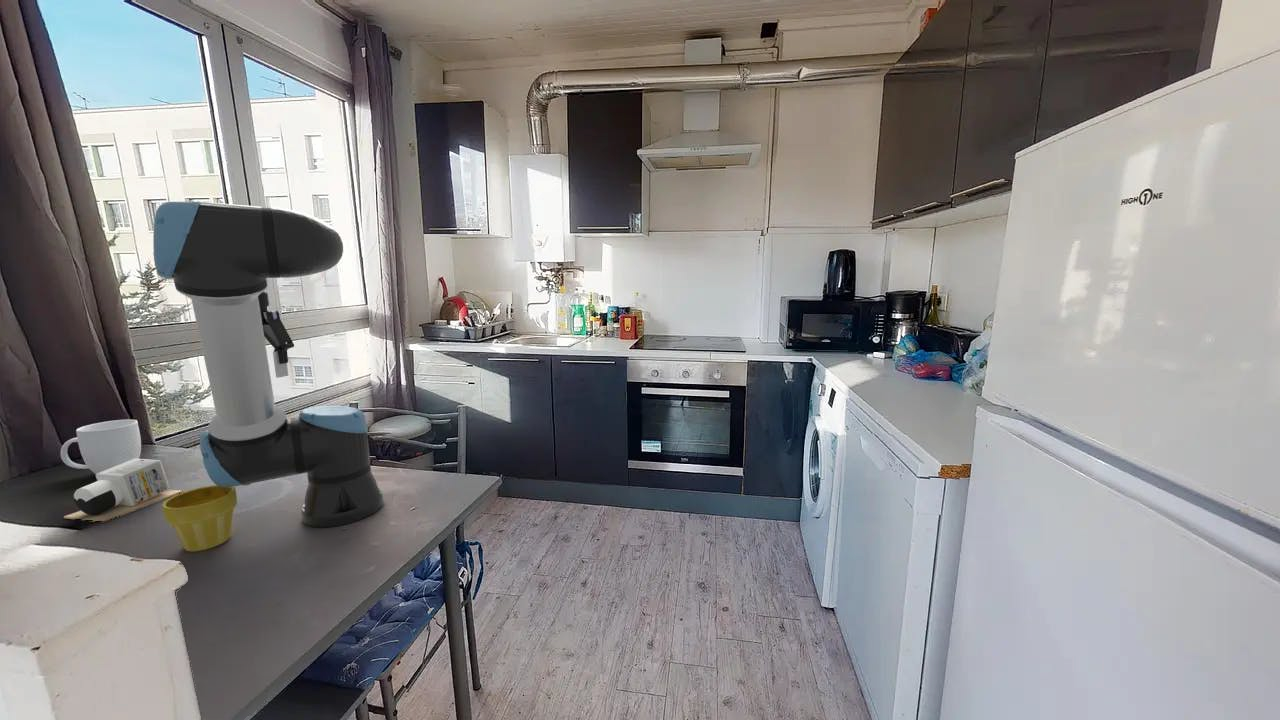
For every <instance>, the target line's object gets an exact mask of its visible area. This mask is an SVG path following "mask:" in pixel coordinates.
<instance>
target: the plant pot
mask: <svg viewBox="0 0 1280 720" xmlns="http://www.w3.org/2000/svg"><path fill="white" fill-rule="evenodd" d="M237 505H238V496H237V491H236V486H234V487H220V486H217V485H216V484H213V485H207V486H206V485H205V486H202V487H197V488H194V489H190V490H186V491H183V492H182V493H180V494H177V495H174V496H172V497H169V498H167V499H165V501H163V503H162V504H161V508H162V509H161V510H162V514H163V518H164V522H165V523H167V524H168V525H171V527H172V528H173V529H174V532H175V533H176V535H177V537H178V539H179V541H180V542H181V545H182V547H183V549H184V550H185V551H186V552H192V553H193V552H200V551H206V550H209V549H212V548H215V547H217V546H220V545H222V544H224V543H225V542H226V541H228V540H229V539H230V538H231V537H232V527H233V526H232V525H233V516H234V509H235V507H236V506H237Z"/></svg>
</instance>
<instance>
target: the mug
mask: <svg viewBox="0 0 1280 720" xmlns="http://www.w3.org/2000/svg"><path fill="white" fill-rule="evenodd" d="M75 433H76V437H73V438H70V439H68V440H67V441H65V442H64V444H62V446H61V448H60V458H61V460H62V461H63V463H64V464H65V465H66V466H68V467H70V468H72V469H79V470H80V469H82V470H87V469H89V470H90V471H91V472H93V473H94V474H95V475H96V474H97V473H100V472H102V471H105V470H107V469H110V468H112V467H115V466H117V465H120V464H122V463H125V462H127V461H130V460H132V459H140V456H141V451H142V438H141V431H140V427H139V422H138V419H117V420H116V419H115V420H108V421H102V422H97V423H91V424H87V425H83V426H81V427H78V428H77V429H76V430H75ZM72 443H77V444H78V448H79V451H80V454H81V457H82V459H83V461H84V463H85V464H80V463H77V462H74V461H72V460H71V459H70V457H69V453H68V448H69V446H70V445H72Z"/></svg>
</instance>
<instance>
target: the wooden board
mask: <svg viewBox="0 0 1280 720" xmlns="http://www.w3.org/2000/svg"><path fill="white" fill-rule="evenodd" d="M183 492H184V491H183V490H182V489H181V490H180V489H171V488H170V489H169V490H166V491H164V492H162V493H160V494H158V495H156V496H154V497H152V498H150V499H148V500H145V501H143V502H141V503H139V504H137V505H135V506H123V505H117V506H115V507H113V508H110V509H108V510H106V511H104V512H102V513H100V514H97V515H88V514H86V513H84V512H82V511H81V510H79V511H76V512H73V513H70V514H66V515H64V516H63V519H66V520H67V519H69V520H75V519H81V520H80V521H85V520H93V521H92V522H95V521H103V522H102V523H105V522H104V521H107V522H109V521H111V520H110V519H112V520H114V519H116V518H115V517H117V518H120V517H123V516H124V515H127V514H130V513H133V512H136V511H138V510H141V509H144V508H146V507H147V506H151V505H153V504H156V503H159V502H161V501H164V500H168V499H169V498H171V497H173V496H175V495H178V494H179V493H183ZM140 508H141V509H140ZM137 509H138V510H137ZM119 516H120V517H119ZM113 518H114V519H113ZM108 520H109V521H108Z"/></svg>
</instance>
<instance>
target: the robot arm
mask: <svg viewBox="0 0 1280 720" xmlns="http://www.w3.org/2000/svg"><path fill="white" fill-rule="evenodd" d="M152 236H153V238H152V240H153V246H152V247H153V259H154V260H153V261H154V266H155V269H156V274H157V275H158V276H159V277H161V278H163V279H164V278H165V279H167V280H171V279H173V283H174V287H175V289H176V291H177V292H178V293H179V294H181V295H183V296H185V297H187V298H189V299H190V300H191V305H192V309H193V313H194V318H195V322H196V327H197V331H198V337H199V340H200V344H201V349H202V353H203V359H204V364H205V369H206V372H207V373H206V374H207V378H208V382H209V387H210V391H211V396H212V400H213V405H214V410H215V414H216V416H214V417H213V418H212V419H211V421H210V422H209V423H208V425H207V429H206V430H204V431H202V433H201V434H200V440H199V446H200V452H201V456H202V462H203V465H204V469H205V471H206V472H207V475H208V477H209V478H210V480H211V481H212V482H213V483H214V485H217V486H220V487H240V486H249V485H251V484H255V483H260V482H266V481H271V480H276V479H281V478H282V479H283V478H285V477H291V476H297V475H301V474H306V475H307V484H308V485H307V488H306V491H305V496H304V502H303V503H304V504H303V505H302V508H301V519H302V523H303V524H305V525H306V526H309V527H313V528H328V527H329V528H330V527H338V526H342V525H347V524H350V523H354V522H357V521H360V520H362V519H365V518H367V517H369V516H371V515H372V514H375V513H376V512H377V511H379V510H380V509H381V508H382V506H383V504H384V498H383V497H384V496H383V492H382V490H381V488H380V487H379V486H378V483H377V480H376V478H375V477H374V474H373V472H372V468H371V456H370V448H369V439H368V431H369V429H368V427H367V422H366V421H367V420H366V415H365V413H364V411H362V410H360V409H359V408H356V407H352V406H346V405H345V406H344V405H317V406H313V407H306V408H304V409H302V410H301V411H300V412H299V414H298V416H299V417H294V418H287V414H286V412H285V411H284V410H283V409H282V408H280V407H277V406H276V405H275V398H274V393H273V392H274V389H273V384H272V378H271V373H270V371H271V370H270V365H269V359H268V353H267V346H266V340H267V341H268V342H269V344H270V345H271V346H272V348H274V350H273V351H272V356H273V357H272V358H273V363H274V371H275V378H284V377H288V376H289V370H288V369H289V368H288V363H289V355H288V350H289V349H291V348H294V347H295V344H294V342H293V339H292V338H291V336H290V334H289V333H288V330H287V329H286V327H285V326H284V323H283V321H282V320H281V317H280V313H279V310H267V308H268V307H269V306H270V302H269V294H268V292H267V291H266V290H267V289H268V279H280V278H281V279H282V278H283V279H287V278H288V279H289V278H298V277H299V278H300V277H304V276H305V277H306V276H311V275H317V274H318V273H322V272H325V271H329V270H330V269H332V268H334V267H336V265H338V264H339V262H341V260H342V257H343V255H344V254H343V253H344V245H343V244H344V243H343V239H342V238H341V236H340V234H339V232H337V230H336V229H335V228H334V227H332V226H331V225H330V224H329V223H327V222H325V221H323V220H321V219H320V218H317V217H314V216H312V215H309V214H307V213H304V212H301V211H299V210H298V211H296V210H294V209H293V210H292V209H288V208H284V207H282V208H281V207H273V206H271V207H270V206H253V205H244V204H232V203H218V202H207V201H201V200H195V201H179V200H177V201H174V200H172V201H165V202H163V203H162V204H160V205H159V206H158V207H157V209H156V211H155V217H154V223H153V235H152Z"/></svg>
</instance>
